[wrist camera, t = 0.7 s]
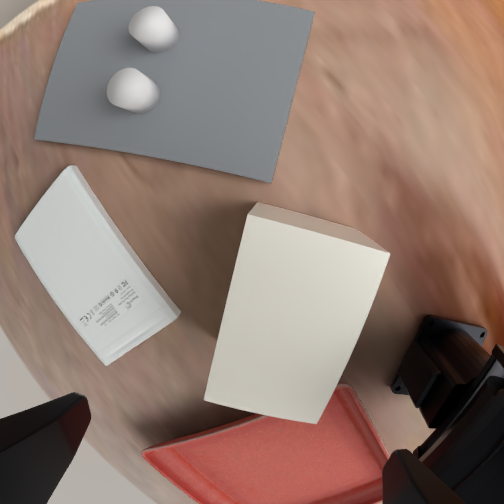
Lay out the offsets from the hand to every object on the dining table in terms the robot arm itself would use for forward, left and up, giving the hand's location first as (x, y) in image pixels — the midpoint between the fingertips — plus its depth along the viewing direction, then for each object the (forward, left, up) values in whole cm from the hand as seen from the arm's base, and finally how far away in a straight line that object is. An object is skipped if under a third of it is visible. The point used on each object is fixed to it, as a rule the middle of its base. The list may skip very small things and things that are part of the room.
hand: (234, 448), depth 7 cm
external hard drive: (+12, +2, -13) cm, 18 cm away
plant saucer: (-6, +16, -13) cm, 22 cm away
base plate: (+9, -12, -12) cm, 20 cm away
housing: (-1, 0, -12) cm, 12 cm away
